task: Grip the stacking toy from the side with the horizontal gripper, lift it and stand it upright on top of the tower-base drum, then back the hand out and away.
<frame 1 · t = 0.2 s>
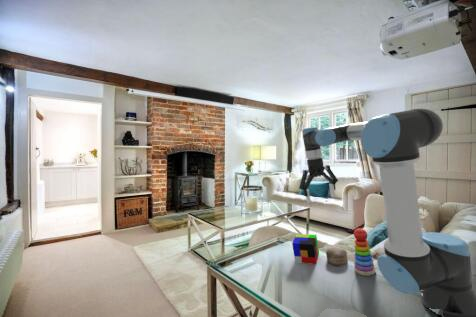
hand: (321, 199, 119), 27 cm above the table, tool pointing down, fingers open, 13 cm apart
stacking toy: (365, 271, 100), on the table
puzzle toy: (307, 258, 118), on the table
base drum: (337, 260, 111), on the table
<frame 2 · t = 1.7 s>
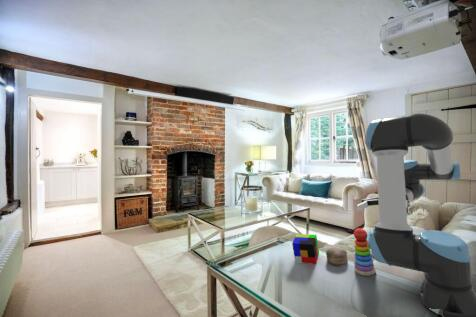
hand: (371, 211, 102), 24 cm above the table, tool horizontal, fingers open, 13 cm apart
nothing on the table moved.
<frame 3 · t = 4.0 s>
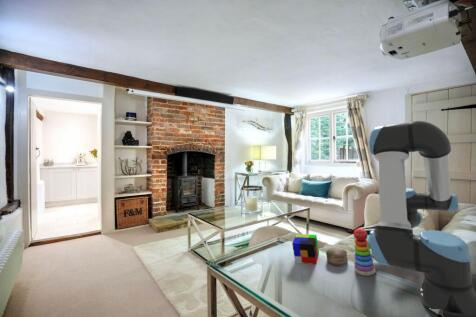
hand: (368, 243, 102), 10 cm above the table, tool horizontal, fingers open, 13 cm apart
nothing on the table moved.
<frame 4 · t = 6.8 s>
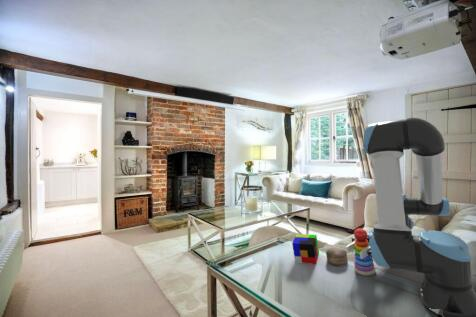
hand: (353, 252, 97), 11 cm above the table, tool horizontal, fingers closed on stacking toy, 6 cm apart
stacking toy: (365, 271, 100), on the table, touching gripper
everything else where it was.
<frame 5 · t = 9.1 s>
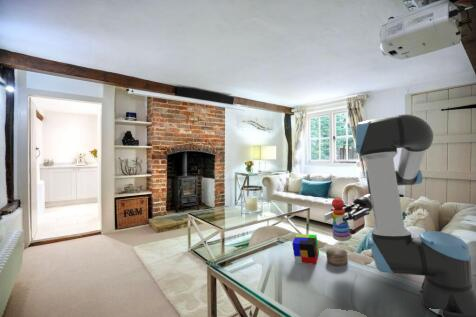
hand: (330, 219, 104), 22 cm above the table, tool horizontal, fingers closed on stacking toy, 6 cm apart
stacking toy: (342, 238, 108), point 12 cm above the table, touching gripper
everything else where it was.
when the fingers open (16 cm above the table, at t = 11.6 s): stacking toy drops 1 cm, resting on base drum.
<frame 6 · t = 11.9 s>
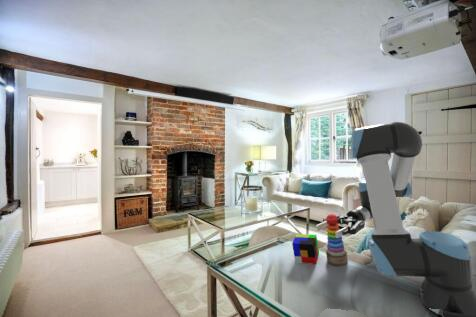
hand: (326, 231, 108), 16 cm above the table, tool horizontal, fingers open, 10 cm apart
stacking toy: (336, 253, 111), point 4 cm above the table, touching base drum
everything else where it was.
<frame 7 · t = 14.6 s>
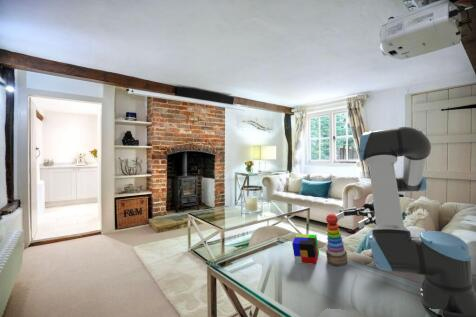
hand: (346, 221, 114), 16 cm above the table, tool horizontal, fingers open, 13 cm apart
nothing on the table moved.
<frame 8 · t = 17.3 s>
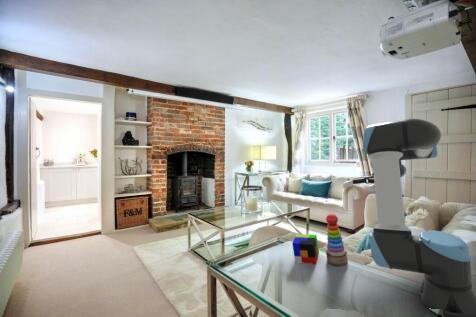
hand: (355, 187, 112), 32 cm above the table, tool horizontal, fingers open, 13 cm apart
nothing on the table moved.
at the end: stacking toy 0.1 cm off-centre on the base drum, point 3.8 cm above the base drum's base; stacking toy tilted 0°; the gripper is holding nothing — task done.
